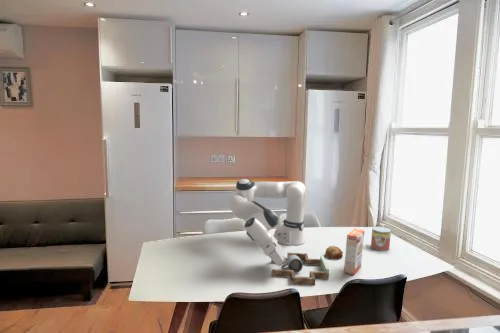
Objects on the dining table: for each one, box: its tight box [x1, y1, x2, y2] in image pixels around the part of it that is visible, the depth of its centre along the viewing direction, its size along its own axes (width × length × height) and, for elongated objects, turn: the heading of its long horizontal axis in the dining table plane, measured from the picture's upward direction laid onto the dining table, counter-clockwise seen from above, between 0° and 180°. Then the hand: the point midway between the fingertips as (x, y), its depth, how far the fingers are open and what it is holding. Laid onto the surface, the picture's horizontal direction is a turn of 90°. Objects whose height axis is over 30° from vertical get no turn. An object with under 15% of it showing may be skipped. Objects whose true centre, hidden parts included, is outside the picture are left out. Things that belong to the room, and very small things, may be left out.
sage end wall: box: [319, 255, 330, 274], centre depth 187 cm, size 2×18×5 cm, turn 178°
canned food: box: [370, 226, 392, 252], centre depth 226 cm, size 11×11×12 cm
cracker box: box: [343, 228, 365, 276], centre depth 189 cm, size 14×6×21 cm, turn 148°
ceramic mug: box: [280, 255, 304, 274], centre depth 187 cm, size 11×8×8 cm
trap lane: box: [270, 252, 330, 286], centre depth 187 cm, size 28×33×3 cm
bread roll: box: [324, 245, 344, 260], centre depth 209 cm, size 10×10×8 cm
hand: (286, 263), depth 186 cm, fingers closed
